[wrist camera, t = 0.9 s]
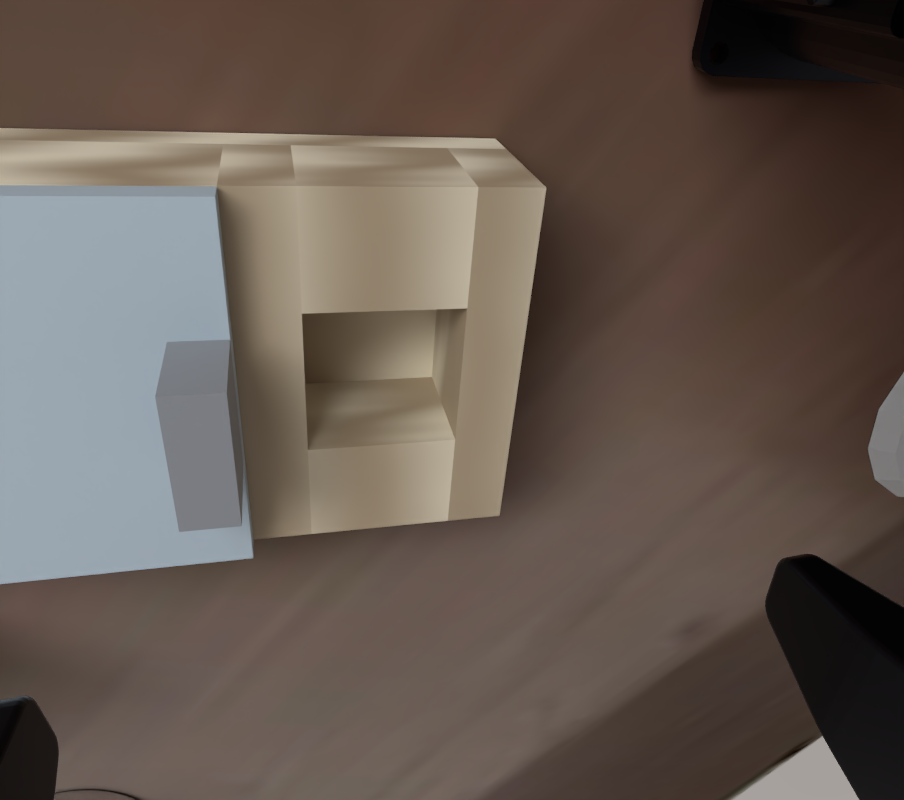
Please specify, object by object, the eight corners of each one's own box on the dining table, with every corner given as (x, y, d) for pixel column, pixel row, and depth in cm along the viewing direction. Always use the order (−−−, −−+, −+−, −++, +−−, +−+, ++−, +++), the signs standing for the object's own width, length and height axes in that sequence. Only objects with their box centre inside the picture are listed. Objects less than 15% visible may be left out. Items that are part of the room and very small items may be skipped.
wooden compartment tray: (495, 138, 18) (546, 187, 15) (465, 430, 23) (499, 515, 20) (-652, 114, 13) (-943, 178, 10) (-384, 490, 18) (-523, 615, 15)
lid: (216, 186, 14) (209, 237, 11) (253, 540, 18) (252, 622, 16) (-221, 183, 12) (-323, 241, 10) (-54, 571, 17) (-99, 664, 15)
